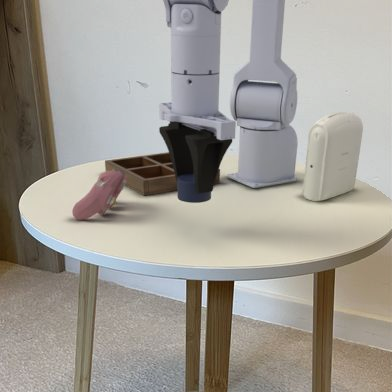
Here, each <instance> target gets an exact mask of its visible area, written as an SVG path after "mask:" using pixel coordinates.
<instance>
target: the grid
mask: <svg viewBox="0 0 392 392" xmlns="http://www.w3.org/2000/svg"><path fill="white" fill-rule="evenodd" d="M104 167H105V172H106V171H112V170H113V169H114V170H115V171H116V172H118V171H119V172H122V173H124V175H126V176H127V181H126V183H125V186H126V187H127V188H129V189H131V190H133V191H135V192H137V193H138V194H140V195H142V196H144V197H145V196H151V195H157V194H163V193H168V192H175V191H177V181H176V177H175V173H174V169H173V165H172V161H171V157H170V154H169V151H167V152H160V153H151V154H145V155H135V156H128V157H121V158H114V159H113V158H112V159H107V160H104ZM220 181H221V169H220V168H219V170H218V173H217V177H216V180H215V184H214V185H217V184H218V185H219V184H220V183H221V182H220Z"/></svg>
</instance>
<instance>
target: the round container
mask: <svg viewBox="0 0 392 392" xmlns="http://www.w3.org/2000/svg"><path fill="white" fill-rule="evenodd" d="M176 191H177V192H176V193H177V200H179V201H180V202H184V203H190V204H201V203H205V202H208V201H210V200H212V192H206V193H197V192H196V188H195V181H194V173H190V174H183V175H180V176H178V178H177V190H176Z"/></svg>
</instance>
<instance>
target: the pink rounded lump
mask: <svg viewBox="0 0 392 392" xmlns="http://www.w3.org/2000/svg"><path fill="white" fill-rule="evenodd" d="M126 181H127V176H126V175H124V173H122V172H119V171H118V172H116V171H115V170H114V169H113V170H112V171H106V170H105V171H103V172H101V173H100V174H99V176H98V178H97V180H96V182H95V183H94V184H93V186H92V187H91V189H90V191H89V192H88V193H87V194H86V195H85V196H83V197H82V198H81V199H80V200H78V201H77V202H76V203H75V204H74V206H73V208H72V212H71V214H72V216H73V217H74V218H75V219H76V220H79V221H80V220H88V219H89V218H92V217H93V216H94V215H96V214H99V215H100V216H104V215H106V214H105V213H106V212H107V210H108V209H109V210H110V209H112V207H113V206H115V205H116V204H117V199H118V197H119V196H120V194H121V193H122V191H123V190H124V188H125V186H126V185H125V183H126Z"/></svg>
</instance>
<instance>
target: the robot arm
mask: <svg viewBox="0 0 392 392" xmlns="http://www.w3.org/2000/svg"><path fill="white" fill-rule="evenodd" d="M162 1H163V4H164V9H165V22H166V26H167V27H168V28H170V64H171V65H170V74H171V75H170V76H171V78H170V79H171V82H170V83H171V90H170V92H171V95H170V96H171V101H170V102H160V103H158V108H159V111H158V112H159V115H158V116H159V120H162V121H167V122H169V123H168V125H163V126H160V127H159V128H158V129H159V130H158V131H159V134H160V136H161V138H162V139H163V141H164V143H165V145H166V149H167V150H168V151H167V152H169V154H170V157H171V161H172V165H173V169H174V173H175V177H176V181H177V178H178V176H180V175H183V174H190V173H194V181H195V188H196V192H197V193H206V192H211V193H212V192H213V191H214V187H215V185H216V184H215V180H216V177H217V173H218V170H219V169H220V167H221V164H222V162H223V159H224V157H225V155H226V153H227V151H228V150H229V148H230V146H231V145H232V143H233V140H234V139H236V128H237V127H239V140H238V141H239V144H238V160H237V161H238V162H237V164H238V165H237V172H234V173H228V174H226V177H227V178H228V179H231V180H234V182H235V181H236V182H238V183H240V184H243V185H244V186H247V187H250V188H252V189H258V188H263V187H269V186H275V185H280V184H286V183H287V184H288V183H292V182H297V181H298V177H297V176H296V175H295V174H296V165H297V154H298V153H297V152H298V136H297V135H298V134H297V132H296V130H295V129H294V127H293V126H292V125H291V123H292V122H293V121H294V119H295V116H296V112H297V105H298V89H297V85H298V78H297V74H296V72H295V71H294V70H292V69H291V67H289V66H288V64H287V63H285V62H284V61H283V59H282V48H283V47H282V46H283V45H282V44H283V33H284V19H285V5H286V0H252V5H251V27H250V43H249V45H250V47H249V60H248V61H247V62H246V63H244V64H243V65H242V66H241V67H239V68H238V69H237V70H236V72H235V73H234V75H233V82H232V88H231V92H230V96H229V113H230V115H231V117H232V119H230V118H229V117H227V116H226V115H225V114H223V113H222V112H221V111H219V109H220V108H219V105H220V69H221V68H220V67H221V38H222V37H221V35H222V12H223V11H224V10H225V9H226V7H228V4H229V1H230V0H162Z"/></svg>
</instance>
